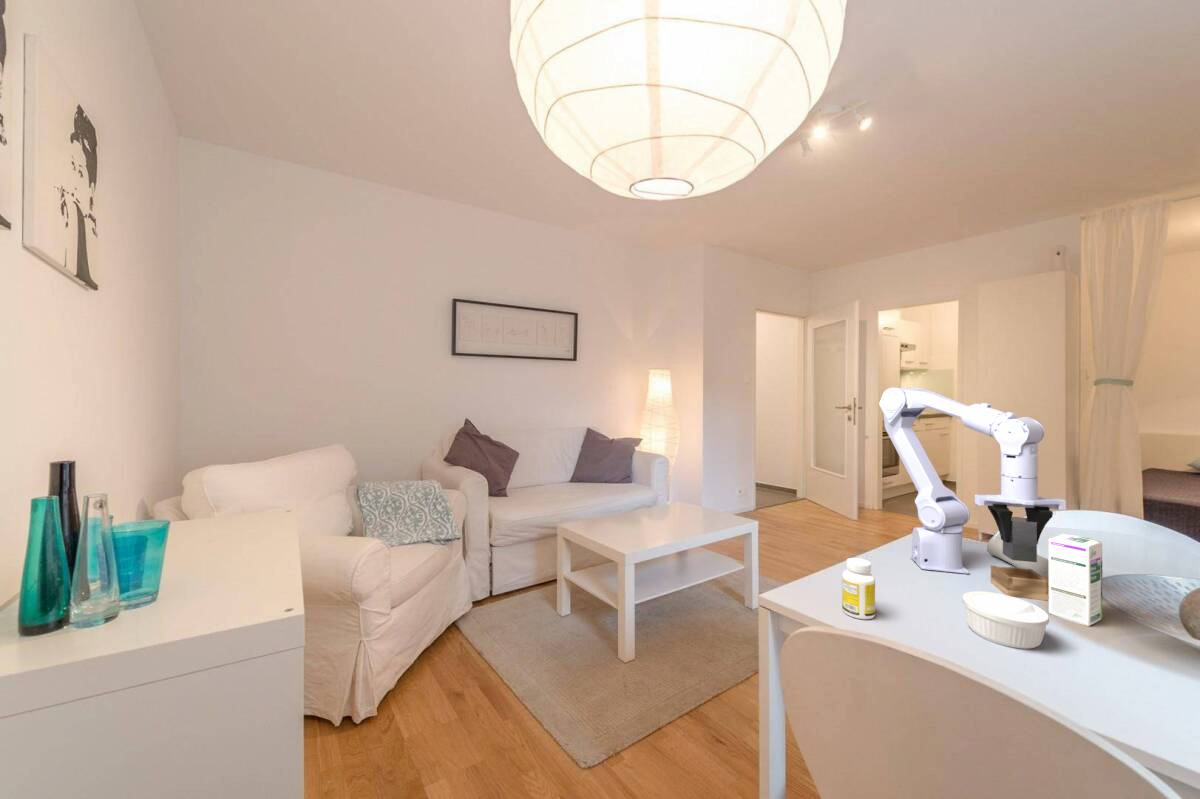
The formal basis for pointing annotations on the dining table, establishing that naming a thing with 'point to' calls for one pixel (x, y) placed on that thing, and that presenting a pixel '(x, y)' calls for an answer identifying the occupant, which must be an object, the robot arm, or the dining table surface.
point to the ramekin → (1005, 619)
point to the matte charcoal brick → (1022, 540)
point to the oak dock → (1020, 582)
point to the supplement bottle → (858, 589)
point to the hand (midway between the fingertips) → (1018, 542)
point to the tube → (1039, 567)
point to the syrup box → (1075, 579)
